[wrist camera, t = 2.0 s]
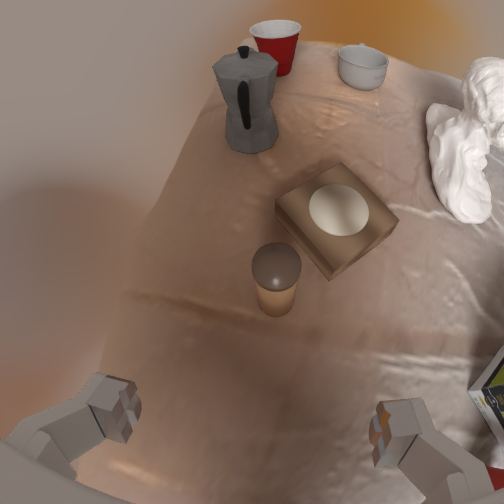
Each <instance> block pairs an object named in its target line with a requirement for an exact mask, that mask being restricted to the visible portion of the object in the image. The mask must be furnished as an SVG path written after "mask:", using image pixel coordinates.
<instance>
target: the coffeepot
mask: <svg viewBox="0 0 504 504" xmlns="http://www.w3.org/2000/svg"><path fill="white" fill-rule="evenodd" d="M237 49H238V51H237V52H236V53H233V54H229V55H225V56H223V57H222V58H221V59H220V60H219V61H218V62H217V63H216V64H214V65H213V66H212V68H213V69H214V72H215V75H216V78H217V81H218V83H219V86H220V89H221V92H222V94H223V97H224V100H225V102H226V103H227V105H228V109H227V113H226V132H225V137H226V139H227V141H228V143H229V145H230V146H231V148H232V149H234V150H236V151H239V152H242V153H251V154H253V153H258V152H262V151H265V150H267V149H268V148H271V147H272V146H273V144H274V143H275V141H276V138H277V136H278V135H279V133H278V129H277V125H276V121H275V117H274V113H273V109H272V107H271V105H270V101H271V99H272V97H273V92H274V86H275V80H276V74H277V67H278V62H277V61H276V60H275V59H274V58H272V57H271V56H270V55H269V54H268V53H262V52H256V51H255V50H254V49H253V48H249V47H248V46H240V47H238V48H237Z"/></svg>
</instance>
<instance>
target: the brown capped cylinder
mask: <svg viewBox="0 0 504 504" xmlns="http://www.w3.org/2000/svg"><path fill="white" fill-rule="evenodd" d="M252 272H253V276H254V279H255V284H256V290H257V296H258V302H259V306H260V308H261V310H262V311H263V312H264V313H265V314H267V315H269V316H273V317H279V316H283V315H285V314H286V313H288V312H289V311H290V309H291V308H292V305H293V301H294V297H295V292H296V287H297V282H298V279H299V276H300V272H301V259H300V257H299V255H298V253H297V252H296V251H295V250H294V249H293V248H292V247H290V246H289V245H286V244H283V243H270V244H267V245H264V246H263V247H261V248H260V249H259V250H258V251H257V252H256V253H255V255H254V257H253V260H252Z"/></svg>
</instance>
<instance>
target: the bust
mask: <svg viewBox="0 0 504 504" xmlns="http://www.w3.org/2000/svg"><path fill="white" fill-rule="evenodd" d="M463 78H464V80H463V81H462V85H461V92H462V93H463V104H464V108H463V110H462V111H460V110H458V109H456V108H452V107H449V106H448V105H445V104H443V105H442V104H437V103H433V104H432V105H431V106H430V107H429V108H428V110H427V113H426V126H427V132H428V133H427V141H428V145H429V148H430V149H429V160H430V163H431V166H432V181H433V184H434V187H435V190H436V193H437V195H438V198H439V200H440V202H441V203H442V204H443V206H444V207H445V208H446V209H447V210H448V211H449V212H451V213H452V214H453V215H454V216H455V217H456V218H457V219H458V220H459V221H461V222H462V223H478V224H481V223H483V222H484V221H485V220H486V219H488V218H489V217H490V215H491V210H492V205H491V202H490V201H491V191H490V188H489V184H488V182H487V181H486V180H485V178H484V173H483V172H482V169H483V168H485V167H486V165H487V160H486V159H485V155H486V154H488V153H489V152H490V151H489V149H490V145H495V146H496V147H497V148H498V149H499V150H501V151H502V153H503V154H504V59H500V58H497V57H484V58H480V59H477V60H475V61H474V62H473V63H472V64H471V65H470V67H469V70H468V71H467V72H466V73H465V74H464V77H463Z"/></svg>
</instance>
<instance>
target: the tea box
mask: <svg viewBox="0 0 504 504" xmlns="http://www.w3.org/2000/svg"><path fill="white" fill-rule="evenodd" d="M468 393H469V394H470V396H471V397H472V399H473V400H474V402H475V404H476V405H477V407H478V408H479V410H480V412H481V413H482V415H483V417H484V418H485V420H486V422H487V423H488V425H489V427H490V428H491V430H492V432H493V433H494V435H495V437H496V439H497V440H498V442H499V444H500V446H501V447H502V449H503V451H504V345H503V346H502V347H501V348H500V349H499V351H498V352H497V354H496V355H495V357H494V358H493V359H492V361H491V362H490V363H489V365H488V366H487V367H486V369H485V370H484V371H483V373H482V374H481V375H480V376H479V378H478V379H477V380H476V381H475V383H474V384H473V385H472V386H471V388H470V389H469V390H468Z"/></svg>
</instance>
